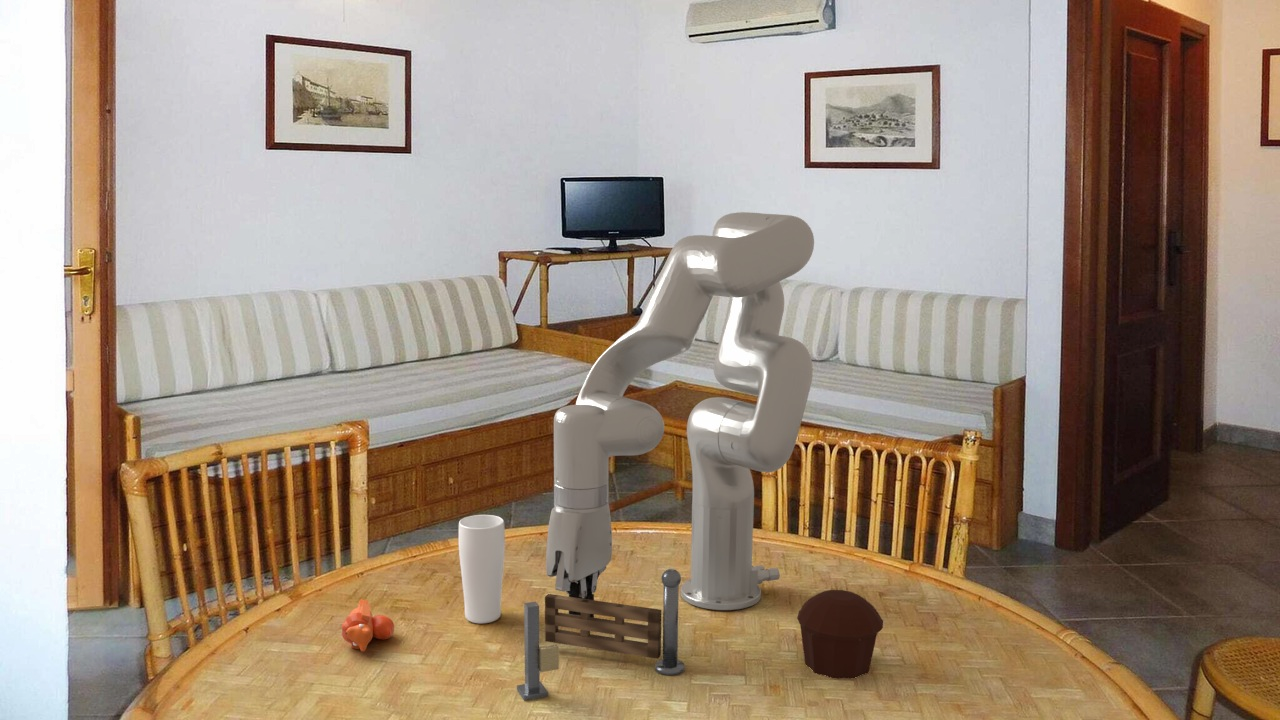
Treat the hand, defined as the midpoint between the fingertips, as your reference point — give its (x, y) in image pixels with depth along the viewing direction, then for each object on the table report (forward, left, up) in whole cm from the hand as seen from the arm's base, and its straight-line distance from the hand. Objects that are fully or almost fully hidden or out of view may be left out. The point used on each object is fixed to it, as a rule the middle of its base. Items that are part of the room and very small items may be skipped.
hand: (581, 620), depth 162 cm
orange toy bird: (+28, -12, -4) cm, 31 cm away
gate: (-1, +5, -2) cm, 6 cm away
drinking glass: (+11, -14, -4) cm, 18 cm away
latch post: (+11, +12, -4) cm, 17 cm away
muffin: (-30, +19, -4) cm, 36 cm away
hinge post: (-8, +12, -4) cm, 15 cm away
